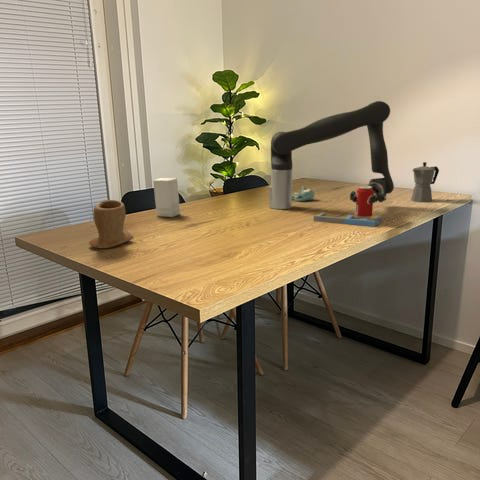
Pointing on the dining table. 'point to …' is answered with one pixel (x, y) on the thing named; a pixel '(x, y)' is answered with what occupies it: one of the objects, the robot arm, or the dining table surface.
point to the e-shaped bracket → (346, 220)
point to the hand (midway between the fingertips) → (362, 200)
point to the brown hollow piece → (110, 224)
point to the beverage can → (364, 202)
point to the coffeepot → (423, 183)
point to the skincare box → (166, 197)
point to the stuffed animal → (304, 195)
